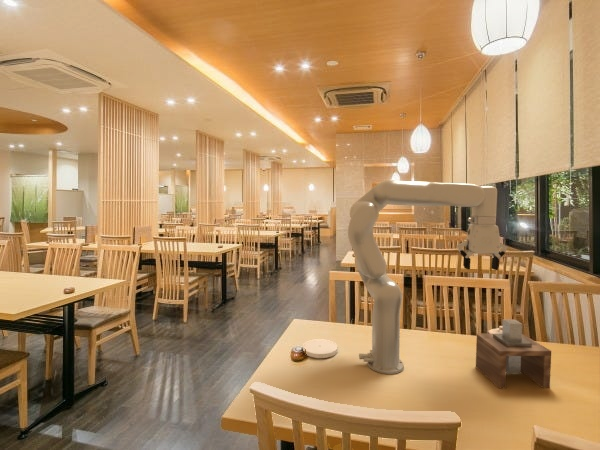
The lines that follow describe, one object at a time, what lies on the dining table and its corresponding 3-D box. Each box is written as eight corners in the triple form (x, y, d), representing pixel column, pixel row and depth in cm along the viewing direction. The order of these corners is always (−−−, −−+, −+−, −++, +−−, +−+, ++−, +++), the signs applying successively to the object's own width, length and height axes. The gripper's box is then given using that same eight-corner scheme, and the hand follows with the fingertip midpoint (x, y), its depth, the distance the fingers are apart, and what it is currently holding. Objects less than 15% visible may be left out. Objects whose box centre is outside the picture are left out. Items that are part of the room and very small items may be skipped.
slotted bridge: (498, 388, 106) (500, 351, 105) (475, 366, 120) (476, 333, 119) (549, 388, 106) (551, 351, 105) (520, 366, 120) (521, 333, 119)
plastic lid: (336, 361, 125) (336, 355, 124) (299, 359, 127) (299, 352, 127) (338, 345, 138) (338, 340, 138) (305, 343, 141) (305, 337, 141)
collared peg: (505, 377, 109) (507, 325, 107) (491, 365, 117) (493, 317, 115) (530, 377, 108) (532, 325, 107) (515, 365, 116) (516, 317, 115)
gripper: (463, 221, 115) (460, 270, 116) (514, 222, 115) (511, 271, 116) (454, 220, 123) (451, 266, 124) (502, 221, 122) (499, 267, 123)
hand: (480, 269), depth 120 cm, fingers open, 9 cm apart
